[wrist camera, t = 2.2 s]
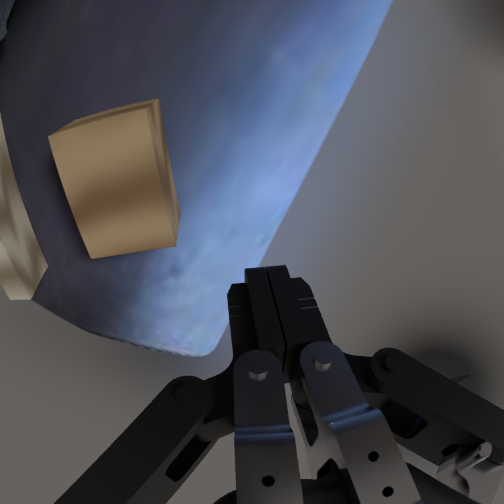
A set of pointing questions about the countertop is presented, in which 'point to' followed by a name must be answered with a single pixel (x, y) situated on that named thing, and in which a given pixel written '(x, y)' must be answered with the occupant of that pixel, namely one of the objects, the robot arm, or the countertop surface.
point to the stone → (4, 15)
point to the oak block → (119, 179)
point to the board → (16, 236)
